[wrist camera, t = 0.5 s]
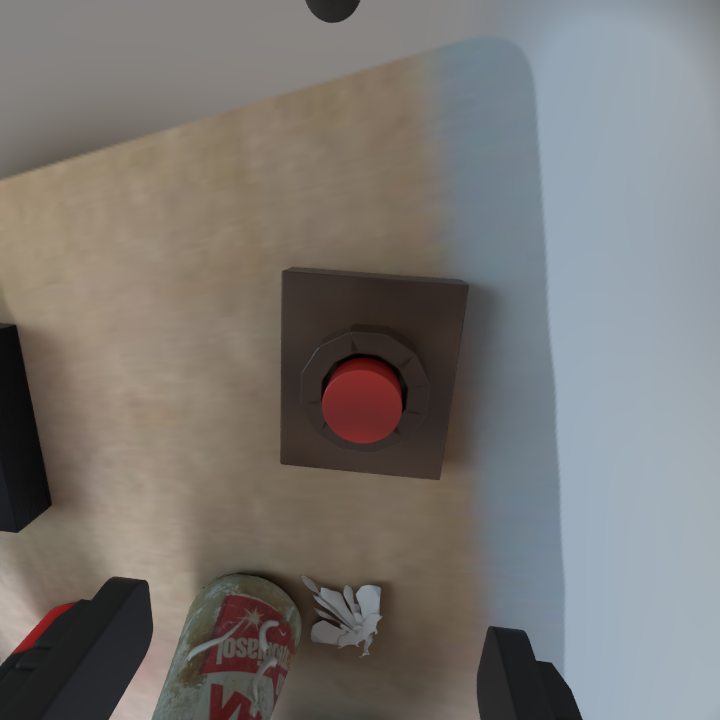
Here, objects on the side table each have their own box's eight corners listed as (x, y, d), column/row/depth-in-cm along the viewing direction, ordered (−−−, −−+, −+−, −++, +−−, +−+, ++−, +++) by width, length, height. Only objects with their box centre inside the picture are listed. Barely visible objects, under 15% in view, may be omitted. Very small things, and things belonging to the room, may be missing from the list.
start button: (329, 354, 22) (323, 366, 20) (404, 360, 22) (405, 374, 20) (326, 422, 23) (320, 439, 21) (397, 428, 23) (398, 447, 21)
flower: (274, 590, 33) (259, 617, 31) (338, 534, 31) (328, 557, 28) (341, 656, 33) (332, 688, 31) (410, 604, 31) (407, 634, 28)
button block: (290, 266, 24) (271, 274, 20) (462, 280, 24) (475, 290, 20) (288, 447, 28) (271, 481, 24) (436, 461, 27) (443, 499, 24)
